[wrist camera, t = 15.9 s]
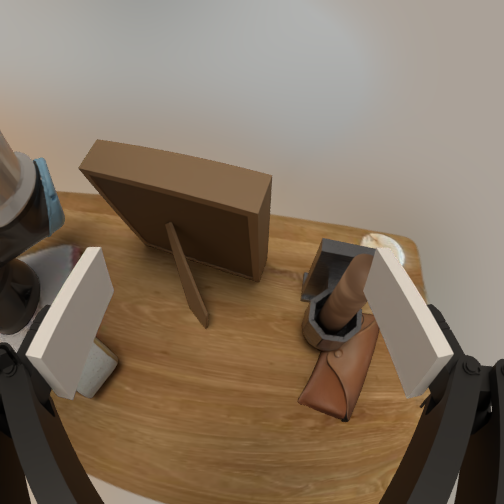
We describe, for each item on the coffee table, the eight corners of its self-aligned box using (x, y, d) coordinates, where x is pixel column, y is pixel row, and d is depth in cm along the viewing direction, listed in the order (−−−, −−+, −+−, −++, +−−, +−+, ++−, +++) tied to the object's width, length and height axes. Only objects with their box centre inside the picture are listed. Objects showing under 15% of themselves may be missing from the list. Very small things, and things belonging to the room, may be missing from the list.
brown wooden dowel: (308, 325, 42) (342, 270, 28) (325, 307, 44) (363, 247, 30) (328, 343, 40) (373, 296, 27) (344, 324, 42) (392, 270, 29)
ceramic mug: (128, 364, 41) (109, 350, 34) (99, 402, 37) (75, 394, 30) (85, 325, 44) (64, 306, 37) (58, 360, 40) (33, 345, 33)
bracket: (343, 359, 43) (381, 329, 31) (293, 351, 44) (315, 319, 32) (347, 282, 51) (378, 235, 39) (303, 274, 51) (323, 223, 39)
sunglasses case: (333, 303, 48) (364, 296, 43) (358, 323, 50) (388, 318, 45) (294, 405, 39) (326, 410, 34) (324, 419, 41) (356, 424, 35)
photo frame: (156, 227, 55) (123, 114, 34) (266, 261, 52) (286, 143, 31) (117, 293, 47) (49, 192, 26) (237, 340, 44) (239, 252, 23)
